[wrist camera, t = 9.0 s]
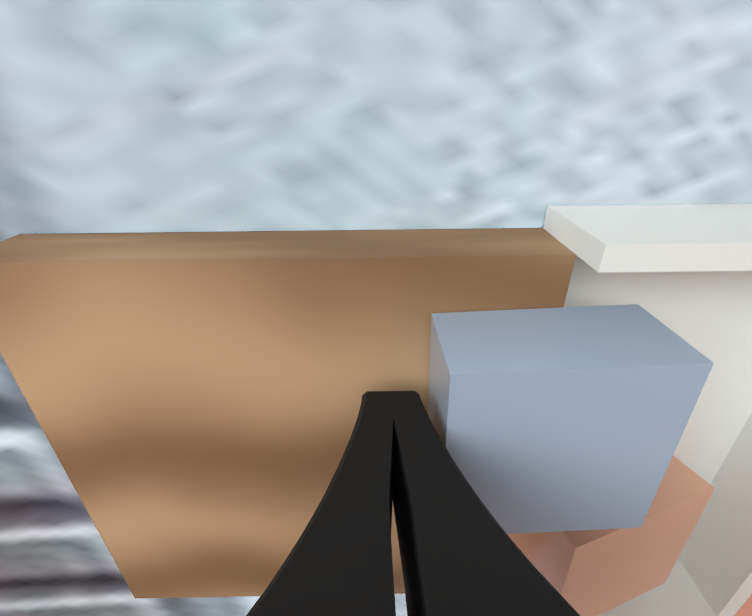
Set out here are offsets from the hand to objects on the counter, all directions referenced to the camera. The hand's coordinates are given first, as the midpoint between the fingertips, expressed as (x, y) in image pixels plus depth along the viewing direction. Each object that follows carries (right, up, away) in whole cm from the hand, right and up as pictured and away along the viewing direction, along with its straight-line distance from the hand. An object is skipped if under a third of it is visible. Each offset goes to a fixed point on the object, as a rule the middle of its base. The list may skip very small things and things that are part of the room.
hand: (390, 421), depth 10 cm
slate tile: (+4, +1, +1) cm, 4 cm away
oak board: (-3, -1, +4) cm, 5 cm away
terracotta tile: (+7, -4, +4) cm, 9 cm away
